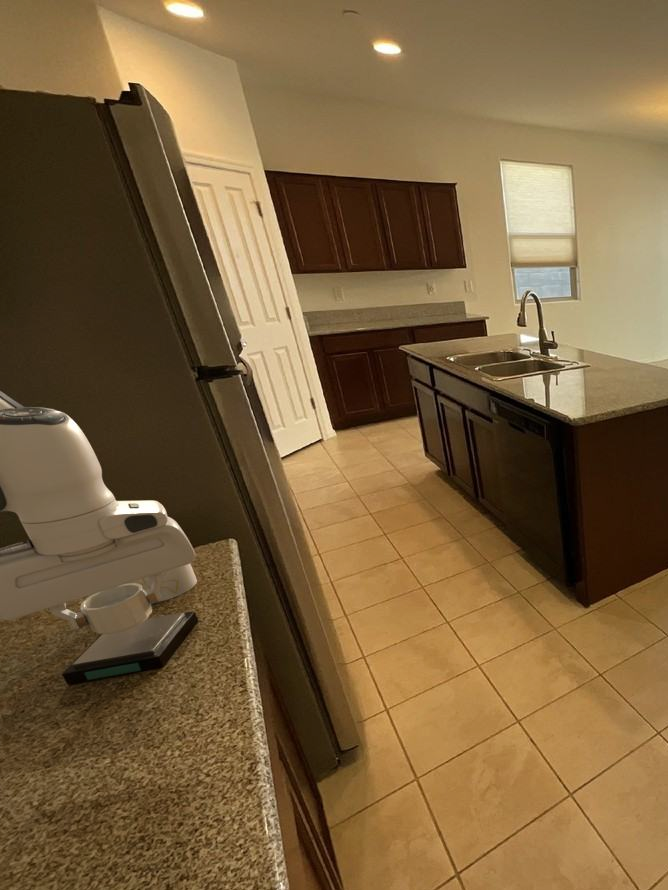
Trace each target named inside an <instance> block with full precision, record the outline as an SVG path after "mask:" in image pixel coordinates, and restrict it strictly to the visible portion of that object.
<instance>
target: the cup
mask: <svg viewBox="0 0 668 890" xmlns="http://www.w3.org/2000/svg"><path fill="white" fill-rule="evenodd" d="M191 564H192V563H190V564H187V565H184V566H180V567H177V568H174V569H171V570H168V571H165V572H161V573H162V575H163V578H164V579H163V582H162V585H161V588H160V590H159V593H160V595H161V597H162V600H161V601H158V602H157V603H159V602H163V601H167V600H171V599H174V598H176V597H179V596H181V595H183V594H185V593H187V592H189V591H190V590H191V589H193V588H194V587H195V586H196V584H197V582H198V580H197V577H196V575H195V572H194V570H193V567H192V565H191ZM132 583H137V584H140V585H142V587H143V589H144V590H147V589H150V588H151V586H152V583H153V582H151V580H150V578H149V577H146V578H143V579H139V580H136V581H133V582H130V583H129V584H132Z"/></svg>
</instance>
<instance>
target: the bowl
mask: <svg viewBox="0 0 668 890" xmlns="http://www.w3.org/2000/svg"><path fill="white" fill-rule="evenodd" d="M80 611H82V612H83V614H84V616H85V617H86V620H87V621H88V623H89V625H88V626H89V628H90V630H91V631H92V632H93V633H96V634H98V635H101V634H114V633H119V632H122V631H125V630H128V629H131V628H133V627H135V626H137V625H139V624H141V623H142V622H144V621H145V620H146V619H147V618H150V615H151V614H152V613H153V607H152V604H149V602H148V599H147V597H146V595H145V591H144V589H143V587H142V585H140V584H137V583H132V584H130V583H127V584H124V585H121V586H117V587H114V588H111V589H108V590H105V591H102V592H99V593H95V594H92V595H89V596H87V597H86V598H85V599H84V600H83V601H82V602H81V603H80Z"/></svg>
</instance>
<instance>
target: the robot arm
mask: <svg viewBox="0 0 668 890" xmlns="http://www.w3.org/2000/svg"><path fill="white" fill-rule="evenodd" d="M1 512H13V513H15V514H16V516H18V519H19V521H20V523H21V525H22V527H23V529H24V531H25V533H26V534H27V536H28V539H29V540H24V541H21V542H17V543H13V544H10V545H7V546H4V547H1V548H0V620H3V621H8V622H10V621H13V620H16V619H19V618H20V619H21V618H23V617H26V616H30V615H33V614H36V613H39V612H42V611H45V610H49V612H50V614H51V615H52V616H54V617H56V618H59V619H61V620H65V621H67V622H69V623H70V625H71V626H72V629H73V630H74V631H77V630H79V629H83V628H85V627H88V626H89V623H88V621H87V620H86V617H85V616H84V614H83V612H82V610H80V611H78V612H74V611H73V610H70V609H68V608H67V603H70V602H74V601H76V600H79V599H82V598H85V597H86V598H87V597H90V596H92V595H94V594H95V593H99V592H102V591H105V590H108V589H111V588H114V587H117V586H121V585H124V584H130V582H133V581H136V580H139V579H143V578H146V577H149V578H150V580H151V582H153V583H152V586H151V588H150V589H147V590H144V591H145V595H146V597H147V599H148V602H149V604H151V605H152V604H155V603H159V602H158V601H160V602H162V601H161V600H162V597H161V595H160V593H159V590H160V588H161V585H162V582H163V579H164V578H163V575H162V573H161V572H165V571H168V570H171V569H174V568H177V567H180V566H184V565H187V564H192V563H193V562H194V560H195V559H196V557H197V555H196V552H195V549H194V547H193V545H192V544H191V542H190V539H189V537H188V536H187V535H186V533H185V532H184V530H183V529H182V527H181V526H180V525H179V524H178V522H177V521H176V520H175V519H173V518H172V517H170V516H168V513H167V510H166V508H165V507H164V505H163V504H162V503H160V502H159V501H158V500H151V499H150V500H149V499H148V500H116V497H115V496H114V493H112V491H111V490H110V489H109V488H108V487H107V485H106V484H105V483H104V480H103V470H102V466H101V464H100V461H99V460H98V457H97V455H96V453H95V451H94V449H93V447H92V444H91V443H90V442H89V440H88V438H87V437H86V434H85V433H84V432H83V429H81V428H80V426H79V425H78V424H77V423H76V421H74V420H73V418H71V417H70V416H69V415H68V414H66V413H65V412H63V411H60V410H57V409H54V408H47V407H37V406H36V407H35V406H34V407H33V406H24V405H22V404H20V403H19V402H17V401H16V400H14V399H13V398H11V397H10V396H8V395H7V394H6V393H4V392H2V391H1V390H0V513H1Z"/></svg>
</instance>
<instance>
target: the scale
mask: <svg viewBox="0 0 668 890" xmlns="http://www.w3.org/2000/svg"><path fill="white" fill-rule="evenodd" d="M198 623H199V618H198V616H197V613H196V612H195V610H192V611H187V612H177V613H172V614H171V613H170V614H165V615H159V616H152V617H148V618H147V619H146V620H145V621H144V622H142V623H141V624H139V625H137V626H135V627H133V628H131V629H128V630H125V631H122V632H119V633H114V634H99V636H98V637H97V638H95V640H94V641H92V643H91V644H90V645H88V647H87V648H86V649H84V651H83V652H82V653H81V654H80V655H79V656H77V658H76V659H75V660H74V661H73V662H72V663H71V664H70V665H69V666H68V667H67V668H66V669H65V670H64V671H63V672H62V673H61V676H62V677H63V679H64V681H65V683H66V684H67V685H68V686H71V685H76V684H81V683H86V682H87V683H88V682H91V681H92V682H93V681H96V680H97V681H98V680H102V679H103V680H104V679H108V678H113V677H119V676H124V675H130V674H137V673H141V672H146V671H151V670H155V669H156V670H157V669H163V668H165V666H166V665H167V663H169V661H170V660H171V659H172V657H173V656H174V655H175V653H176V652H177V650H178V649H179V648H180V647H181V645H182V644H183V642H184V641H185V640H186V639H187V637H188V636H189V635H190V633H191V632H192V631H193V629H194V628H195V627H196V625H197V624H198Z"/></svg>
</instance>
